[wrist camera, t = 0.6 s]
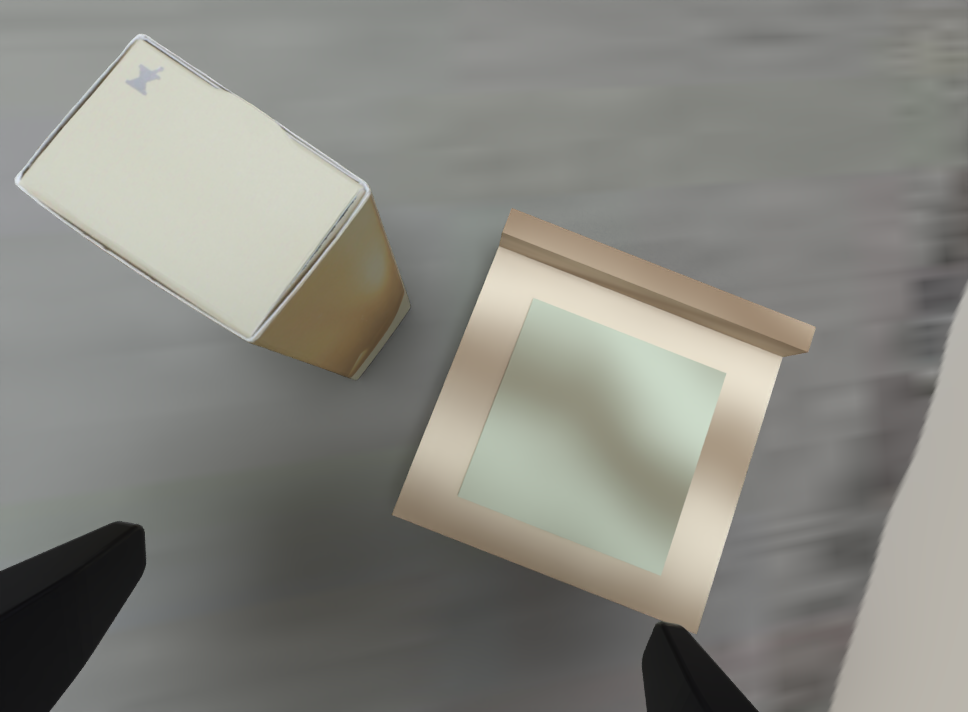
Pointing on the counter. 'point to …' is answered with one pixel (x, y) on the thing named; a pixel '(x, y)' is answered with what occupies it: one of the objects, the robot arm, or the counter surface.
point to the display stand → (599, 420)
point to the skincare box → (223, 210)
